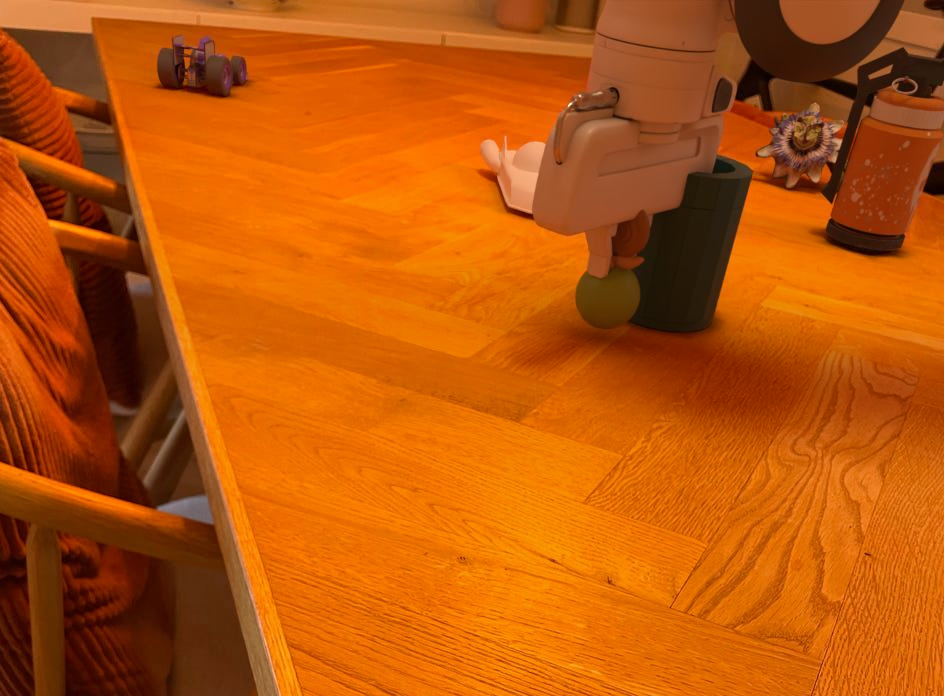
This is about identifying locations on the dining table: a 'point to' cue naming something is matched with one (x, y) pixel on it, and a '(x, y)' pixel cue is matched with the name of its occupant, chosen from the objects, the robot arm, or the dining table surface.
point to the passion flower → (803, 146)
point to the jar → (691, 250)
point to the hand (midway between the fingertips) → (609, 272)
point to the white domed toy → (515, 171)
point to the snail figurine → (615, 279)
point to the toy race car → (200, 67)
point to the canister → (886, 152)
